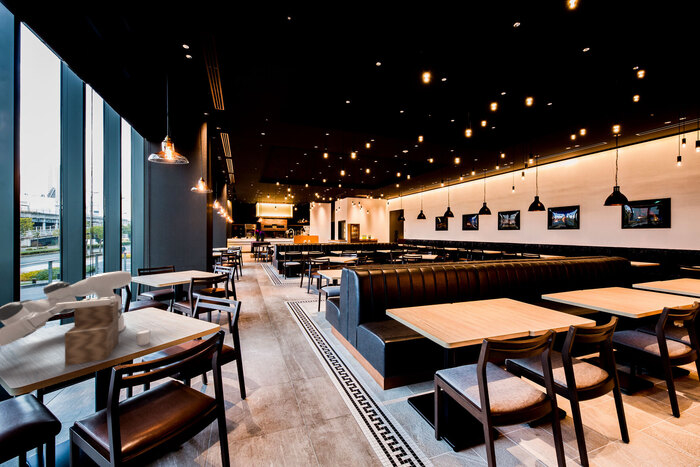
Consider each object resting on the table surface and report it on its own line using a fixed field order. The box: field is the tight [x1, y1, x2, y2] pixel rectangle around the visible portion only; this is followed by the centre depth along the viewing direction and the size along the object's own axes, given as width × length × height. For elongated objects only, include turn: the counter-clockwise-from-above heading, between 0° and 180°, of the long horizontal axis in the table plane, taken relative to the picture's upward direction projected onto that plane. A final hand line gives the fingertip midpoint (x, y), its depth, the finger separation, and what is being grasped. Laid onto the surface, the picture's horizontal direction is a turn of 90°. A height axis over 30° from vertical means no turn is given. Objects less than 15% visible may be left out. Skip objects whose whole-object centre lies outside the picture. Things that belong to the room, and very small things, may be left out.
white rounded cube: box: [135, 329, 151, 346], centre depth 167 cm, size 7×7×7 cm
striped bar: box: [81, 296, 116, 303], centre depth 161 cm, size 14×3×3 cm, turn 118°
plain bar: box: [56, 298, 111, 309], centre depth 154 cm, size 22×3×3 cm, turn 118°
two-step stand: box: [64, 301, 120, 367], centre depth 153 cm, size 16×24×25 cm, turn 28°
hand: (66, 304), depth 151 cm, fingers closed on plain bar, 3 cm apart
